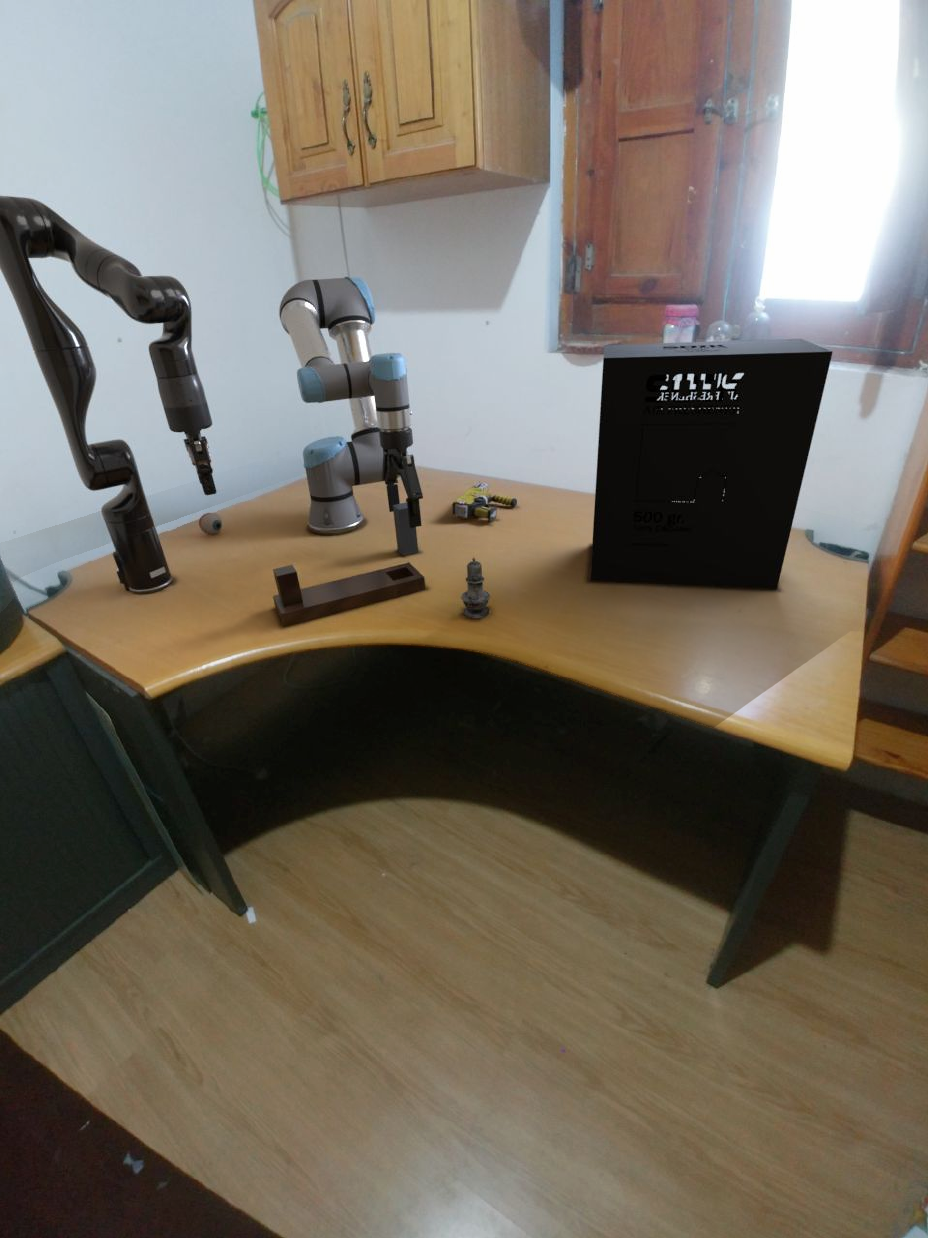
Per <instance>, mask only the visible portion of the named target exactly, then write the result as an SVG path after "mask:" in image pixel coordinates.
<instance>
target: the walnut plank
mask: <svg viewBox="0 0 928 1238" xmlns="http://www.w3.org/2000/svg"><path fill="white" fill-rule="evenodd" d="M272 572H273V576H274V581H275V585H276V590H277V594H275V595H272V599H273V604H274V607H275V610H276V612H277V614H278V616H279V618H280V620H281V623H282V625H283V627H289V626H293V625H296V624H300V623H303V622H307V621H311V620H315V619H318V618H322V617H326V616H331V615H335V614H337V613H341V612H344V611H348V610H352V609H356V608H360V607H363V606H367V605H370V604H375V603H379V602H383V601H387V600H390V599H394V598H397V597H400V596H404V595H408V594H412V593H416V592H419V591H424V590H426V580H425V579H426V578H425V576H424V575H423V574H422V573H421V572H420V571H419V570H418V569H416V567H414V565H412V564H411V562H404V563H400V564H397V565H392V566H388V567H384V568H380V569H376V570H372V571H368V572H364V573H360V574H357V575H352V576H348V577H344V578H340V579H336V580H332V581H327V582H324V583H320V584H316V585H312V586H308V587H303V588H301V584H300V580H299V577H298V571H297V570H296V568H295V567H294V564H289V565H285V566H284V565H283V566H280V567H275V568H272Z"/></svg>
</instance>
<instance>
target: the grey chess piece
mask: <svg viewBox="0 0 928 1238" xmlns="http://www.w3.org/2000/svg"><path fill="white" fill-rule="evenodd" d="M471 560H472V561H471ZM471 560H470V562H468V563H467V565H466V574H467V575H466V576H467V577H466V578H465V582H466V583H467V589H466V591H464V592H463V593H462V594H461V596H460V599H461V600H462V602H463V605H464V606H465V608H464V609H463V615H464V616H465V617H467V618H469V619H481V618H485V617H487V616H488V615H489V614H490V609H489V608H488V607H487V606H488V604H489V602H490V599H491V594H490V592H489V591H487V590H484V581H485V577H484V576H483V566H482V563H481V562H480V561H477V560H476V557H473V558H472V559H471Z"/></svg>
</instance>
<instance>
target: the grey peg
mask: <svg viewBox="0 0 928 1238" xmlns="http://www.w3.org/2000/svg"><path fill="white" fill-rule="evenodd" d="M392 513H393V520H394V521H393V522H394V528H395V529H394V530H395V535H396V536H395V538H396V547H397V552H398V553H400V554H401V555H402V556H403V557H405V556H410V555H411V556H412V555H415V554H419V543H418V534H417V533H418V532H417V527H414V528H410V526H409V517H408V507H407V502H406V501H405V502H402V503H401V502H400V504H396V505H393V512H392Z"/></svg>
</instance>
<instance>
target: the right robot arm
mask: <svg viewBox="0 0 928 1238" xmlns="http://www.w3.org/2000/svg"><path fill="white" fill-rule="evenodd" d="M278 315H279V320H280V324H281V326H282V328H283V330H284V331H285V332H286V334H288V335H289V337H290V339H291V343H292V345H293V348H294V350H295V353H296V357H297V359H298V362H299V366H300V368H298V369H297V371H296V379H297V385H298V391H299V393H300V397H301V400H302V402H304V403H306V404H314V403H318V404H321V403H325V402H332V401H333V402H334V401H342V400H348V403H349V407H350V412H351V417H352V421H353V426H354V429H353V431H352V432H351V433H350V439H351V441H347V440H346V438H345V437H343V436H341V435H340V436H328V437H323V438H320V439H317V440H314V441H312V442H310V443H308V444H307V445H306V446H305V447H304V448H303V450H302V457H303V467H304V469H305V474H306V475H305V476H306V480H307V486H308V492H309V498H310V507H309V513H308V521H307V524H308V528H309V529H308V530H310V531H311V532H312V533H314V534H317V535H323V536H324V535H325V536H327V535H329V536H331V535H339V534H340V535H341V534H345V533H350V532H353V531H355V530H357V529H359V528H361V527H362V526H363V525H364V523H365V519H364V514H363V512H362V510H361V508H360V505H359V504H358V501H357V500H356V498H355V495H354V489H353V487H355V486H356V487H357V486H362V485H363V486H364V485H369V484H376V483H381V482H384V484H385V487H386V494H387V502H388V511H389V513H393V505H396V504H401V501H400V492H399V485H398V484H399V480H398V479H399V478H400V480H401V483H402V485H403V488H404V491H405V494H406V496H407V498H406V499H405V503H406V502H407V507H408V517H409V526H410V528H414V527H416V528H417V527H422V518H421V517H422V516H421V507H420V500H422V499H423V498H424V495H423V491H422V487H421V483H420V479H419V476H418V472H417V469H416V464H415V456H414V454H409V453H408V448H411V446H413V444H414V438H413V437H414V435H413V429H412V428H411V426H412V418H411V416H412V415H413V411H412V410H411V409H410V408H411V406H410V397H409V385H408V376H407V375H408V368H407V365H406V359H405V356H404V355H403V354H402V353H399V352H397V353H396V352H387V353H378V354H373V355H372V350H371V346H370V341H369V335H370V334H371V332H372V330H373V329H372V328H373V327H372V325H374V324H375V322H376V310H375V303H374V299H373V296H372V294H371V290H370V287H369V286H368V284H367V283H366V281H365V280H364V279H363V278H360V277H349V276H344V277H333V278H319V279H318V278H317V279H305V280H301V281H298V282H296V283H295V284H293V285H292V286H291V287H290V288H289V289H288V290H287V291H286V292H285V294H284V295H283V297H282V299H281V300H280V303H279V311H278ZM322 329H327V331H328V336H329V337H330V338H331V339H332V340H334V341H335V342H336V346H337V351H338V356H339V360H340V363H335V361H334V358H333V357H332V354H331V352H330V349H329V346H328V344H327V342H326V340H325V337H324V334H323V333H322Z"/></svg>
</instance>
